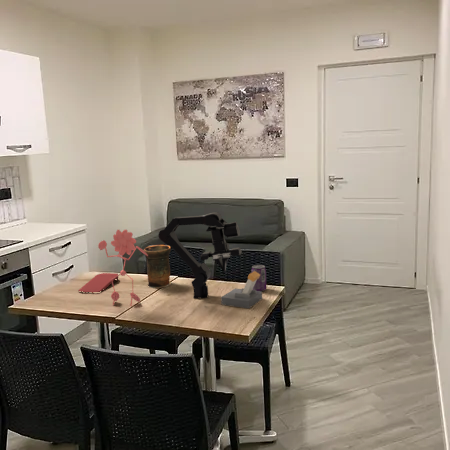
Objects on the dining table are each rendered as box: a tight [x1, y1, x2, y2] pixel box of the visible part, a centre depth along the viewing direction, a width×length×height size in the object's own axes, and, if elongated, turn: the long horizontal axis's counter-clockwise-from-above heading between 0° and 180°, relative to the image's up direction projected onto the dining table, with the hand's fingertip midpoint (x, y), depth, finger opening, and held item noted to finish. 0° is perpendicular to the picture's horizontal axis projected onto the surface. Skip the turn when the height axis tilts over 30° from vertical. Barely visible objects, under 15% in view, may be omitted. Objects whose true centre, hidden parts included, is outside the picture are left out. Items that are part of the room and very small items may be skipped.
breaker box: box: [220, 287, 263, 309], centre depth 222 cm, size 14×14×5 cm
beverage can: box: [251, 264, 267, 292], centre depth 237 cm, size 7×7×12 cm
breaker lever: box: [242, 271, 260, 294], centre depth 218 cm, size 3×6×10 cm, turn 151°
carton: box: [78, 272, 119, 292], centre depth 257 cm, size 12×5×25 cm
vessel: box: [143, 244, 172, 289], centre depth 254 cm, size 14×14×20 cm
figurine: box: [97, 229, 148, 307], centre depth 227 cm, size 15×26×35 cm, turn 73°
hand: (224, 271), depth 227 cm, fingers closed
